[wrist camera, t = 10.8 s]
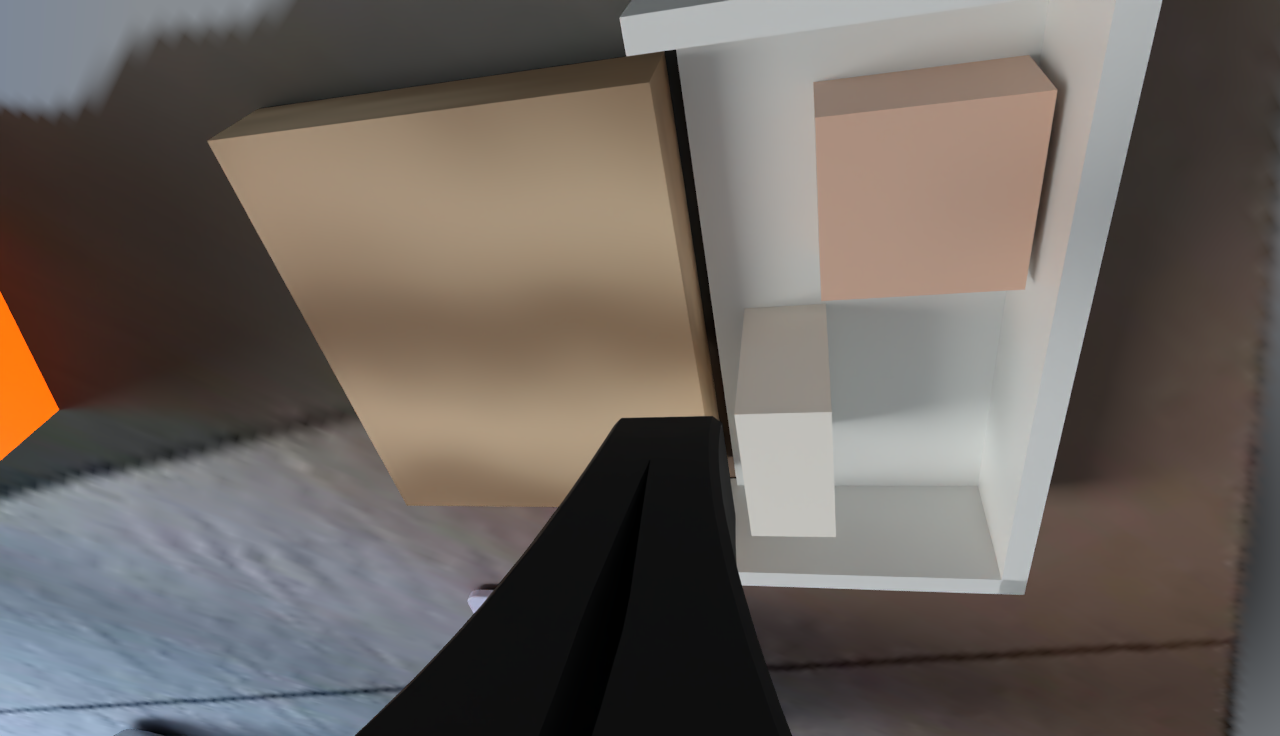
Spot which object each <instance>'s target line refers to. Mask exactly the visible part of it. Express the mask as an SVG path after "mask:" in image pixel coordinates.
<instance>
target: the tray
mask: <svg viewBox="0 0 1280 736" xmlns="http://www.w3.org/2000/svg"><path fill="white" fill-rule="evenodd" d="M1161 4H1162V0H632V1H631V2H630V3H629V5H628V6H627V8H626V9H625V10H624V12H623V13H622V14H621V16H620V17H619V18H620V24H621V29H622V35H623V41H624V46H625V52H626V56H633V55H640V54H647V53H654V52H661V51H668V50H675V49H676V53H677V60H678V67H679V74H680V81H681V88H682V95H683V103H684V110H685V117H686V124H687V131H688V138H689V145H690V152H691V160H692V167H693V174H694V181H695V188H696V195H697V202H698V209H699V217H700V224H701V231H702V238H703V245H704V252H705V259H706V266H707V273H708V281H709V288H710V295H711V302H712V309H713V316H714V323H715V330H716V338H717V345H718V352H719V359H720V366H721V373H722V380H723V387H724V395H725V402H726V409H727V416H728V423H729V430H730V437H731V444H732V452H733V459H734V466H735V473H736V478H730V481H731V488H732V495H733V501H734V508H735V515H736V561H737V569H738V573H739V577H740V580H741V584H742V585H749V586H778V587H808V588H837V589H866V590H896V591H925V592H955V593H984V594H1014V595H1024V593H1025V589H1026V584H1027V580H1028V576H1029V571H1030V567H1031V563H1032V559H1033V554H1034V550H1035V546H1036V541H1037V537H1038V533H1039V528H1040V524H1041V520H1042V516H1043V511H1044V507H1045V503H1046V498H1047V494H1048V490H1049V485H1050V481H1051V477H1052V473H1053V468H1054V464H1055V460H1056V455H1057V451H1058V447H1059V442H1060V438H1061V434H1062V430H1063V425H1064V421H1065V417H1066V412H1067V408H1068V404H1069V400H1070V395H1071V391H1072V387H1073V382H1074V378H1075V374H1076V369H1077V365H1078V361H1079V357H1080V352H1081V348H1082V344H1083V339H1084V335H1085V331H1086V326H1087V322H1088V318H1089V314H1090V309H1091V305H1092V301H1093V296H1094V292H1095V288H1096V283H1097V279H1098V275H1099V271H1100V266H1101V262H1102V258H1103V253H1104V249H1105V245H1106V240H1107V236H1108V232H1109V228H1110V223H1111V219H1112V215H1113V210H1114V206H1115V202H1116V197H1117V193H1118V189H1119V185H1120V180H1121V176H1122V172H1123V167H1124V163H1125V159H1126V154H1127V150H1128V146H1129V142H1130V137H1131V133H1132V129H1133V124H1134V120H1135V116H1136V111H1137V107H1138V103H1139V99H1140V94H1141V90H1142V86H1143V81H1144V77H1145V73H1146V69H1147V64H1148V60H1149V56H1150V51H1151V47H1152V43H1153V38H1154V34H1155V30H1156V26H1157V21H1158V17H1159V13H1160V8H1161ZM1024 55H1030V57H1031V58H1032V59H1033V60H1034V62H1035V63H1036V64H1037V65H1038V66H1039V68H1040V69H1041V70H1042V71H1043V73H1044V74H1045V75H1046V76H1047V77H1048V79H1049V80H1050V81H1051V82H1052V84H1053V85H1054V86H1055V87H1056V88H1057V90H1058V91H1057V97H1056V103H1055V109H1054V115H1053V122H1052V128H1051V134H1050V140H1049V146H1048V152H1047V158H1046V164H1045V170H1044V176H1043V183H1042V189H1041V195H1040V201H1039V207H1038V213H1037V219H1036V225H1035V231H1034V237H1033V244H1032V250H1031V256H1030V262H1029V268H1028V274H1027V280H1026V286H1025V290H1007V291H990V292H972V293H954V294H937V295H919V296H902V297H884V298H867V299H849V300H832V301H821V285H820V263H819V237H818V208H817V179H816V150H815V120H814V91H813V82H819V81H827V80H835V79H842V78H850V77H858V76H866V75H874V74H882V73H890V72H898V71H906V70H914V69H922V68H929V67H937V66H945V65H953V64H961V63H969V62H977V61H985V60H993V59H1001V58H1009V57H1017V56H1024ZM812 304H826V316H827V335H828V353H829V371H830V389H831V408H832V433H833V462H834V490H835V518H836V537H787V536H752V535H751V528H750V521H749V514H748V507H747V500H746V493H745V486H744V479H743V472H742V465H741V458H740V451H739V444H738V437H737V430H736V423H735V416H734V413H735V402H736V392H737V382H738V371H739V361H740V351H741V340H742V330H743V320H744V309H747V308H763V307H780V306H796V305H812Z"/></svg>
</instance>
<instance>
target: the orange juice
mask: <svg viewBox="0 0 1280 736" xmlns="http://www.w3.org/2000/svg"><path fill="white" fill-rule="evenodd" d="M58 410H59V409H58V407H57V405H56V403H55V401H54V399H53V397H52V395H51V393H50V391H49V389H48V387H47V384H46V382H45V380H44V378H43V376H42V374H41V372H40V370H39V368H38V366H37V364H36V362H35V360H34V358H33V356H32V354H31V352H30V350H29V348H28V346H27V344H26V342H25V340H24V338H23V336H22V334H21V332H20V330H19V328H18V326H17V324H16V322H15V320H14V318H13V316H12V314H11V312H10V310H9V308H8V306H7V304H6V302H5V300H4V298H3V296H2V294H1V292H0V460H2V459H3V458H4V457H5V456H6V455H7V454H9V453H10V452H11V451H12V450H13V449H14V448H15V447H17V446H18V445H19V444H20V443H21V442H22V441H24V440H25V439H26V438H27V437H28V436H29V435H31V434H32V433H33V432H34V431H35V430H36V429H37V428H39V427H40V426H41V425H42V424H43V423H44V422H46V421H47V420H48V419H49V418H50V417H51V416H52V415H54V414H55V413H56V412H57V411H58Z"/></svg>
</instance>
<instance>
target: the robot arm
mask: <svg viewBox="0 0 1280 736" xmlns="http://www.w3.org/2000/svg"><path fill="white" fill-rule="evenodd" d="M468 604H469V605H470V607H471V609H472V611H473V613H474V614H473V615H472V617H471V618H470V619H469V620H468V621H467V622H466V623H465V624H464V626H463V627H462V628H461V629H460V630H459V631H458V632H457V633H456V634H455V636H454V637H453V638H452V639H451V640H450V641H449V642H448V643H447V644H446V645H445V646H444V647H443V649H442V650H441V651H440V652H439V653H438V654H437V655H436V656H435V657H434V658H433V659H432V660H431V661H430V662H429V663H428V664H427V665H426V666H425V667H424V669H423V670H422V671H421V672H420V673H419V674H418V675H417V676H416V677H415V678H414V679H413V680H412V681H411V682H410V683H409V684H408V685H407V686H406V687H405V688H404V689H403V690H402V691H401V692H400V693H399V694H398V695H396V696H395V697H394V698H393V699H392V700H391V701H390V702H389V703H388V704H387V705H386V706H385V707H384V708H383V709H382V710H381V711H380V712H379V713H378V714H377V715H376V716H375V717H374V718H373V719H372V720H371V721H370V722H369V723H368V724H367V725H366V726H365V727H364V728H362V729H361V730H360V731H359V732H358V733H357V734H356V735H355V736H792V735H791V732H790V729H789V727H788V724H787V721H786V719H785V716H784V714H783V711H782V708H781V705H780V703H779V700H778V697H777V694H776V691H775V688H774V686H773V683H772V680H771V677H770V674H769V671H768V669H767V666H766V663H765V660H764V657H763V654H762V651H761V648H760V645H759V641H758V638H757V635H756V632H755V629H754V625H753V622H752V619H751V615H750V612H749V609H748V605H747V602H746V598H745V595H744V591H743V588H742V584H741V580H740V577H739V573H738V569H737V561H736V515H735V508H734V501H733V495H732V488H731V481H730V474H729V467H728V460H727V454H726V447H725V440H724V433H723V426H722V422H720V421H719V420H717V419H716V418H715V417H713V416H688V417H642V418H621V419H620V420H619V421H618V422H617V423H616V424H615V425H614V426H613V428H612V429H611V431H610V432H609V434H608V436H607V437H606V439H605V440H604V442H603V443H602V445H601V446H600V448H599V449H598V451H597V452H596V454H595V455H594V457H593V458H592V460H591V461H590V463H589V464H588V466H587V467H586V469H585V470H584V472H583V473H582V474H581V476H580V477H579V479H578V480H577V482H576V483H575V484H574V486H573V487H572V489H571V490H570V492H569V493H568V495H567V496H566V497H565V499H564V500H563V502H562V503H561V504H560V506H559V507H558V508H557V510H556V511H555V512H554V514H553V515H552V516H551V518H550V519H549V520H548V522H547V523H546V525H545V526H544V527H543V529H542V530H541V531H540V533H539V534H538V535H537V537H536V538H535V539H534V541H533V542H532V543H531V545H530V546H529V547H528V549H527V550H526V551H525V552H524V554H523V555H522V556H521V557H520V559H519V560H518V561H517V562H516V564H515V565H514V566H513V567H512V568H511V570H510V571H509V572H508V573H507V575H506V576H505V577H504V578H503V579H502V581H501V582H500V583H499V584H498V586H497V587H496V588H495V589H494V590H480V589H479V590H474V591H472V592H471V594H470V596H469V599H468Z"/></svg>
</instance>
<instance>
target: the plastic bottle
mask: <svg viewBox="0 0 1280 736" xmlns="http://www.w3.org/2000/svg"><path fill="white" fill-rule="evenodd" d="M114 736H164V735H160V734H156V733H152V732H149V731H144V730H137V729H127V730H123V731H121V732H119V733H118V734H116V735H114Z"/></svg>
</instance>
